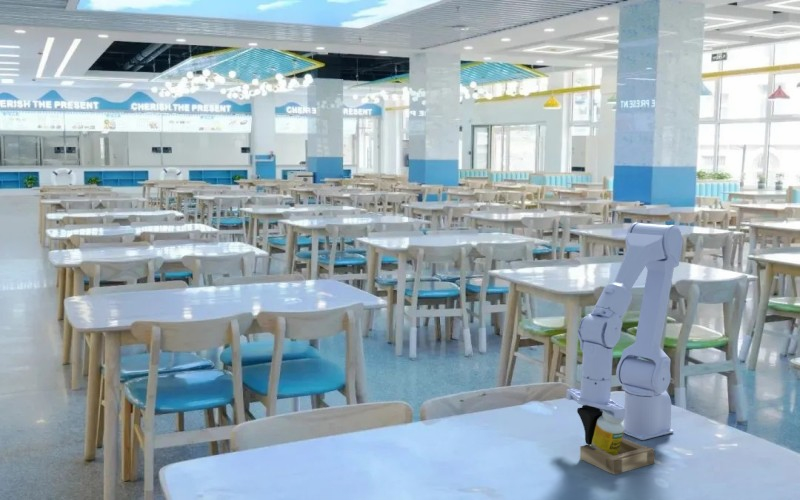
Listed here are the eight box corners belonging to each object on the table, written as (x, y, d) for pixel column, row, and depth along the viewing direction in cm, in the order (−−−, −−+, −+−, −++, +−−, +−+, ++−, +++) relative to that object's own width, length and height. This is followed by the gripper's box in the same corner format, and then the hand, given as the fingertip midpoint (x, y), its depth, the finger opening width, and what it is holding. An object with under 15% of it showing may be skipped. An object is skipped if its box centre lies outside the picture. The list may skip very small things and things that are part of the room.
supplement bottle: (599, 442, 164) (609, 401, 161) (622, 456, 161) (633, 413, 157) (584, 451, 160) (594, 409, 157) (607, 465, 157) (619, 422, 154)
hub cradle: (619, 448, 164) (620, 435, 164) (654, 463, 157) (654, 449, 156) (580, 458, 159) (580, 445, 159) (613, 474, 152) (614, 460, 151)
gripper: (556, 369, 165) (552, 435, 166) (607, 388, 152) (603, 459, 154) (582, 366, 168) (579, 430, 170) (635, 384, 156) (630, 453, 157)
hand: (592, 443), depth 162 cm, fingers closed, pressing on supplement bottle
